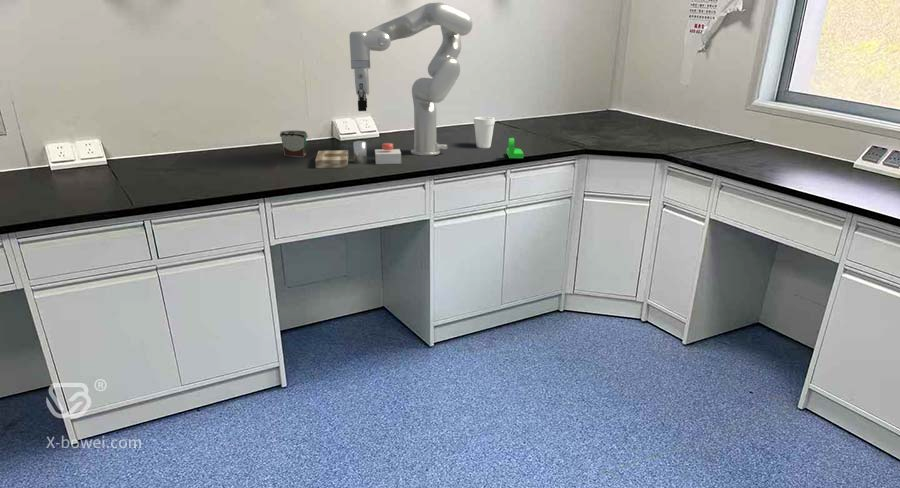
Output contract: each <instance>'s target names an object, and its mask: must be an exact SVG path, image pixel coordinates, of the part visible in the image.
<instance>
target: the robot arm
mask: <svg viewBox="0 0 900 488" xmlns="http://www.w3.org/2000/svg"><path fill="white" fill-rule="evenodd" d="M433 26H440V31H441V35H442V41H441V44H440V47H439V48H438V49H437V51H436V53H434V56H433V58H432V59H431V61H429V62H430V63H428V67H427V73H428V75H429V77H420V78H417V79H416V80H415V81H414V83H413V84H412V87H411V96H412V103H413V119H414V120H413V124H414V125H413V127H414V128H413V129H414V130H413V132H414V134H413V139H414V141H413V142H414V144H413V145H414V149H410V154H412V155H415V156H424V157H425V156H436V155H439V154H440V153H441V150H447V149H448V144H444V143H442V144H441V143H438V142H437V105H436V104H439V103H441V102H443V101H444V100H445V98H446V97H447V96H448V95H449V94H450V92H451V90H452V88H453V87H454V85H455V84H456V82H457V80H458V79H459V76H460V73H461V65H460V63H459V60H457V59H458V57H459V55H460V54H461V50H462V40H461V37H463V36H467V35H468V34H469V33H470V32H471V31H472V30H473V20H472V18H471V16H470V15H469V14H467V13H465V12H463V11H461V10H458V9H456V8H454V7H452V6H450V5H448V4H445V3H443V2H429V3H426V4H424V5H422V6H419V7H417V8H415V9H413V10H411V11H409V12H407V13H405V14H403V15H401V16H398V17H396V18H393V19H392V20H389V21H386V22H383V23H381V24H379V25H377V26H375V27H373V28H370V29H369V30H367V31H359V30H358V31H357V30H356V31H351V32H350V33H349V54H350V55H349V56H350V69H351V70H354V71H353V74H354V85H355V91H356V92H355V93H356V96H357V110H358V112H367V108H368V97H367V96H369V94H370V79H369V70H370V69H371V51H372V52H373V51H374V52H384V51H386V50H387V49H389V47H390V46H391V43H392V41H396V40H400V39H402V40H403V39H407V38H410V37H413V36H415V35H417V34H419V33H421V32H422V31H425V30H427V29H428V28H430V27H433Z"/></svg>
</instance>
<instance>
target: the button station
mask: <svg viewBox="0 0 900 488" xmlns="http://www.w3.org/2000/svg"><path fill="white" fill-rule="evenodd" d="M374 160H375V165H400V164H402V152H401V148H393V150H383V149H382V148H381V149H374Z"/></svg>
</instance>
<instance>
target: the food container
mask: <svg viewBox="0 0 900 488" xmlns="http://www.w3.org/2000/svg"><path fill="white" fill-rule="evenodd" d="M279 137H281V144H282V150H283V154H284V156H286V157H294V158H305V157H306V156H307V139H308V133H307V131H304V130H284V131H280V133H279Z"/></svg>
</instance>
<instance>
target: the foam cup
mask: <svg viewBox="0 0 900 488" xmlns="http://www.w3.org/2000/svg"><path fill="white" fill-rule="evenodd" d="M495 123H496V119H495V117H492V116H476V117H473V124H474V134H475V135H474V136H475V142H476V143H475V145H476V148H480V149H489V148H491V146H492V139H493V134H494V129H495V128H494V127H495Z"/></svg>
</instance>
